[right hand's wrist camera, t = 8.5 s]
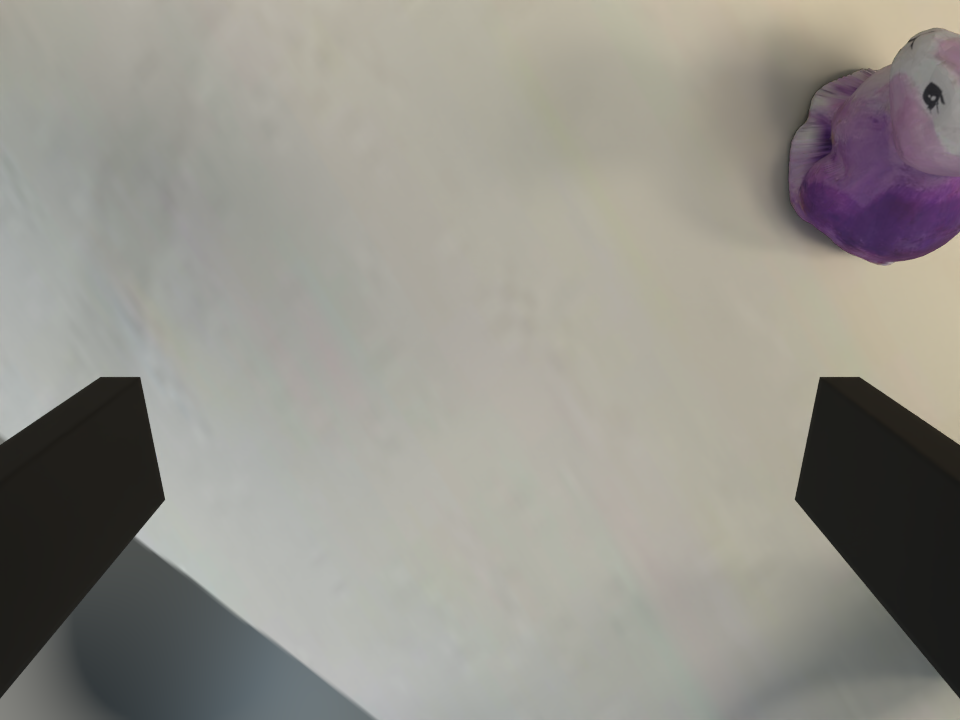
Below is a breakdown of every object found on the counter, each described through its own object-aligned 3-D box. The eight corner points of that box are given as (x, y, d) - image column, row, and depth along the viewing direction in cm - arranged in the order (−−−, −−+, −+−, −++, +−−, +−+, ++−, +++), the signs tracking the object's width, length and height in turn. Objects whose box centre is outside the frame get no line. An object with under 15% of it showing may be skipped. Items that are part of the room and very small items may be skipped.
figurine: (819, 32, 34) (1053, -31, 20) (972, 115, 36) (1290, 109, 22) (726, 197, 37) (873, 241, 23) (870, 267, 39) (1092, 349, 25)
